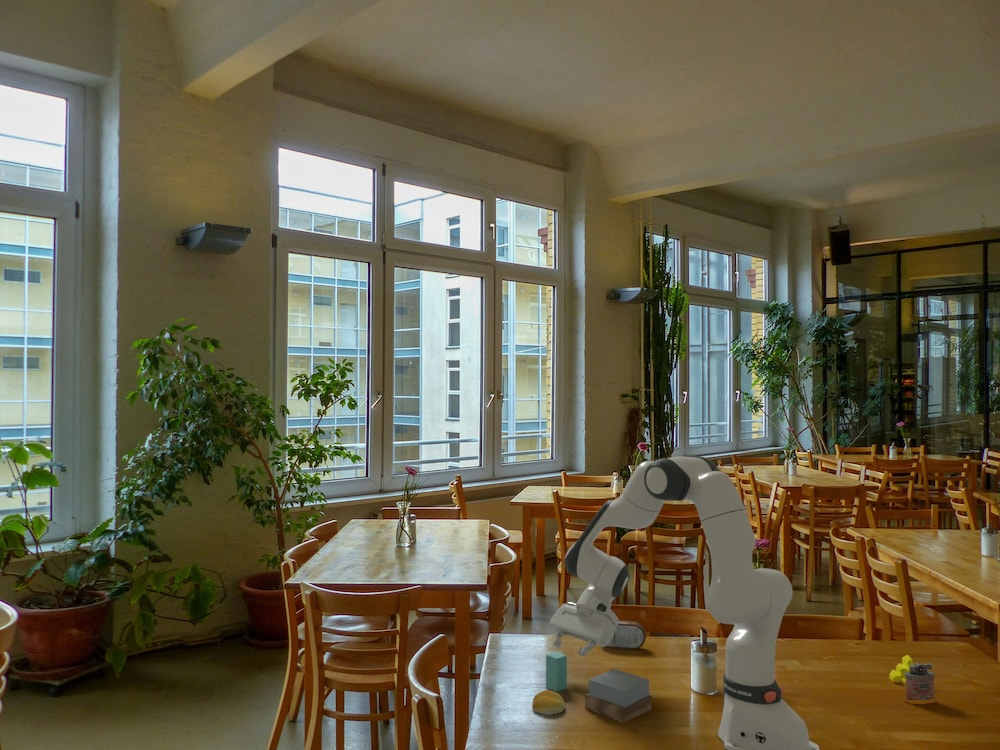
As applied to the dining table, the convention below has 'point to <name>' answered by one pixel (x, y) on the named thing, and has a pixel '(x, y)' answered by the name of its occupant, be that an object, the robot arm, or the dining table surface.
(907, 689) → the lighter
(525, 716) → the dining table surface
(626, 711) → the tower base
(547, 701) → the bread roll
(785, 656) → the dining table surface
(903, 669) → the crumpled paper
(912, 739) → the dining table surface
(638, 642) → the tin
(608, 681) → the tower top
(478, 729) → the dining table surface
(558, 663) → the pillar block
